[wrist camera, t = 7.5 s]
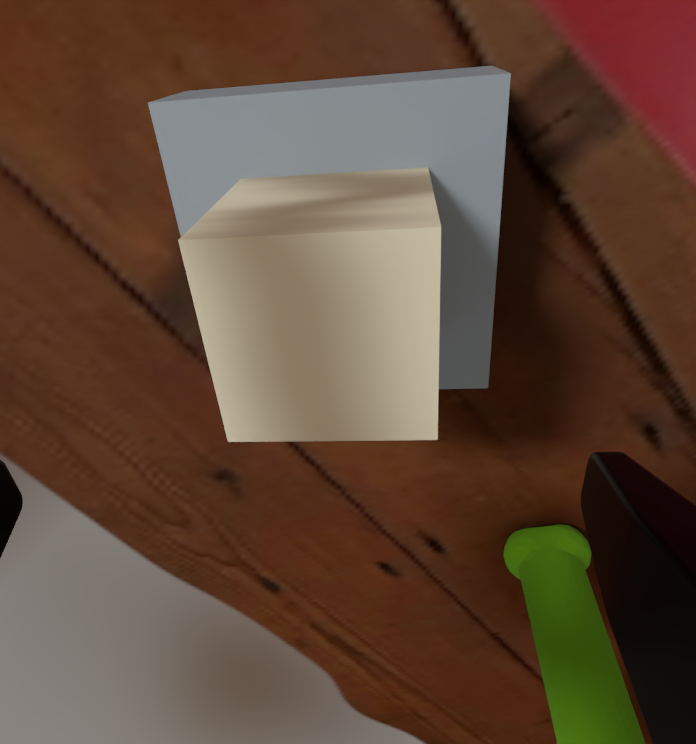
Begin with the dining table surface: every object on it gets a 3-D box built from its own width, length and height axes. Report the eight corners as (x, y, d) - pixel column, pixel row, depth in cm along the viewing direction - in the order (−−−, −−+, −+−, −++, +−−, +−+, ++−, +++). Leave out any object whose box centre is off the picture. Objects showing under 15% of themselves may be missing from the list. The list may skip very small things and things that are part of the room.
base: (492, 65, 15) (511, 73, 13) (476, 342, 20) (488, 388, 18) (186, 91, 16) (147, 102, 14) (241, 350, 21) (219, 393, 19)
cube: (427, 167, 14) (441, 226, 10) (427, 336, 17) (437, 439, 13) (241, 178, 15) (177, 239, 10) (268, 340, 17) (228, 442, 13)
